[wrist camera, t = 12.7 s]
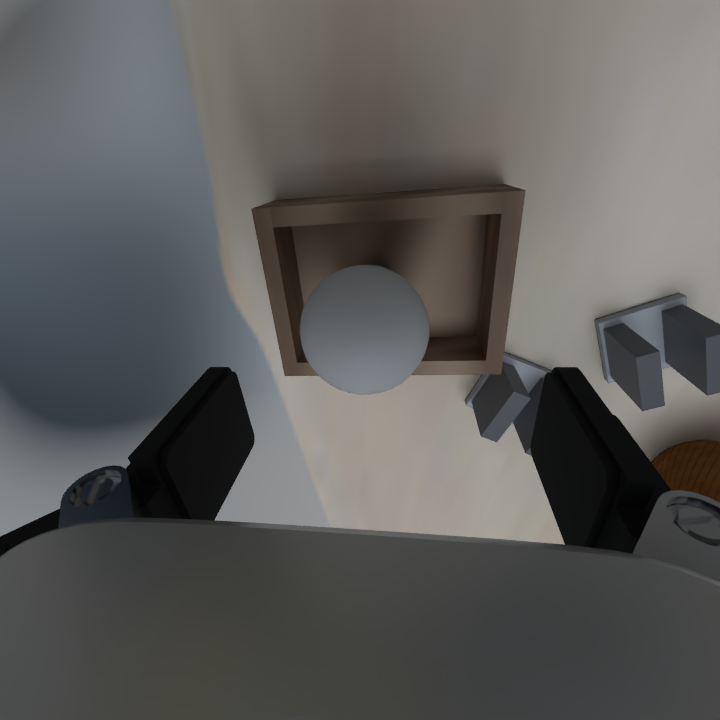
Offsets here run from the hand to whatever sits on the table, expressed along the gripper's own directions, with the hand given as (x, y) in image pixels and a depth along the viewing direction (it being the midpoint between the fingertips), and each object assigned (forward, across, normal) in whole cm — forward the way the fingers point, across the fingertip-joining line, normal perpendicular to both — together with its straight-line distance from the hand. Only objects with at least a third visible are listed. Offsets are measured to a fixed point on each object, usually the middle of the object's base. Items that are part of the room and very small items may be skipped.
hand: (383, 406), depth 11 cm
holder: (+15, +1, +1) cm, 15 cm away
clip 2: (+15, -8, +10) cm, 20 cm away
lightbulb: (+15, +2, +1) cm, 15 cm away
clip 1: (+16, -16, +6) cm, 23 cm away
